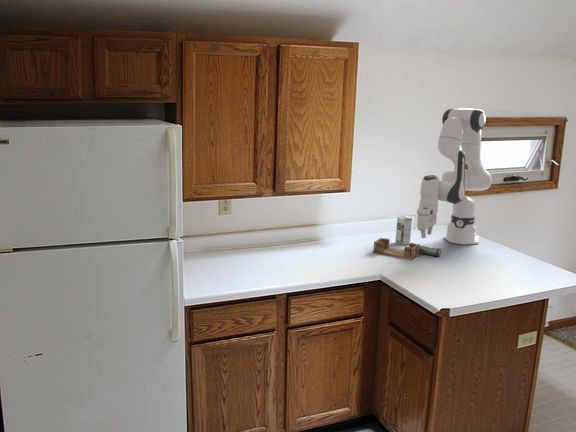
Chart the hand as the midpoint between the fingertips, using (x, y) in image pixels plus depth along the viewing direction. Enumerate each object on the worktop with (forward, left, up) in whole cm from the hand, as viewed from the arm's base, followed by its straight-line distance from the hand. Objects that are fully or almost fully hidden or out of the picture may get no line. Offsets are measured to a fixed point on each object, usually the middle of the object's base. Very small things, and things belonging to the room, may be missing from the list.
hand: (426, 236), depth 286 cm
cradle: (+7, -12, -10) cm, 17 cm away
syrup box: (-13, -16, -10) cm, 22 cm away
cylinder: (-1, 0, -10) cm, 10 cm away
